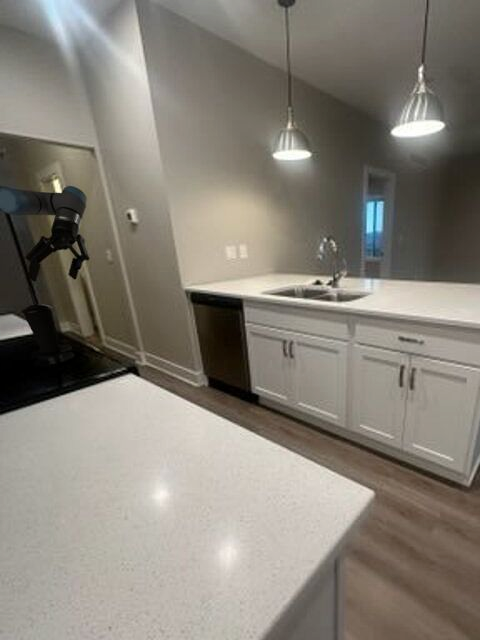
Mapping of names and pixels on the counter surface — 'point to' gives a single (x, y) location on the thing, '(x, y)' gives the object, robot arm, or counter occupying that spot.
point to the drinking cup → (42, 325)
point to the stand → (53, 358)
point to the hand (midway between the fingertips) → (51, 278)
